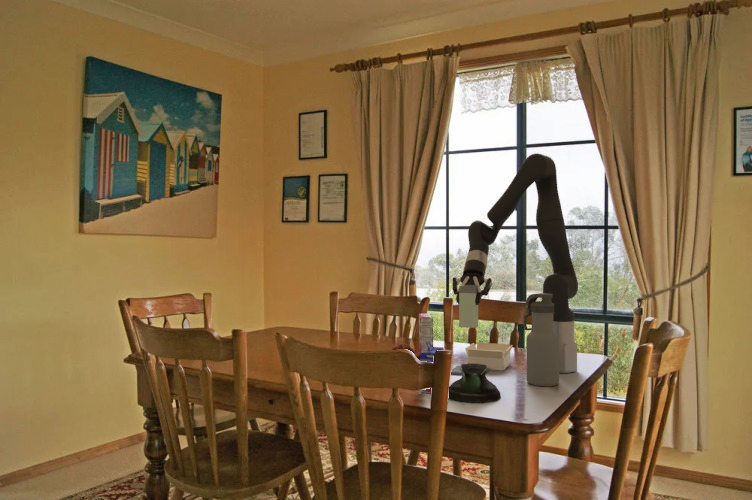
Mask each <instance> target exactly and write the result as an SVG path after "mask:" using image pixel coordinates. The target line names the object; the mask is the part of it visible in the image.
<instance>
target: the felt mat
mask: <svg viewBox="0 0 752 500" xmlns="http://www.w3.org/2000/svg"><path fill="white" fill-rule="evenodd" d="M460 367H461V365H456V366H455V367H454V368H452V369H451V370H452V372H451V374H450V375H452V374H453V376H455V375H456V376H462V372H461V369H460ZM488 371H490V369H489V368H488V369H487V370H486V373H487V372H488Z"/></svg>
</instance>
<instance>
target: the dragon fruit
mask: <svg viewBox="0 0 752 500" xmlns="http://www.w3.org/2000/svg"><path fill="white" fill-rule="evenodd" d="M397 349H408V350H410V351H412V352H413V353H414V354H415V355H416V352H415V350H414V349H413V348H412V347H411V346H409V345H408V344H407V343H403V344H401V343H398V344H397V346H395V347H392V348H391V350H397Z"/></svg>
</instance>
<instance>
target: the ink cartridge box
mask: <svg viewBox="0 0 752 500" xmlns="http://www.w3.org/2000/svg"><path fill="white" fill-rule="evenodd" d="M428 344H430V346H428ZM426 345H427V348H426V349H425V350H423V351H422V352H421V353H420V352H419V362H420V361H427V362H433V356H434V352H435V351H437V350H444V349H445V348H444V347H441V346H440V347H439V346H433V347H432V345H431V343H430V342H429V341H428V342H426ZM444 351H445V350H444ZM421 393H422V394H431V388H430V389H426V390H422V391H421Z"/></svg>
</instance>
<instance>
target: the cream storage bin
mask: <svg viewBox="0 0 752 500" xmlns="http://www.w3.org/2000/svg"><path fill="white" fill-rule="evenodd" d="M512 348H513V344H509V343H494V342H493V343H492V342H476V345H475V343H474V342H473V343H471V344H470V345H468V346H466V347H465V351H466V354H467V364H472V363H473V364H484V365H487V367H488V368H489V370H493V371H496V370H497V371H505V370H506V369H507V367H508V366H509V365H511V351H512Z"/></svg>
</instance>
